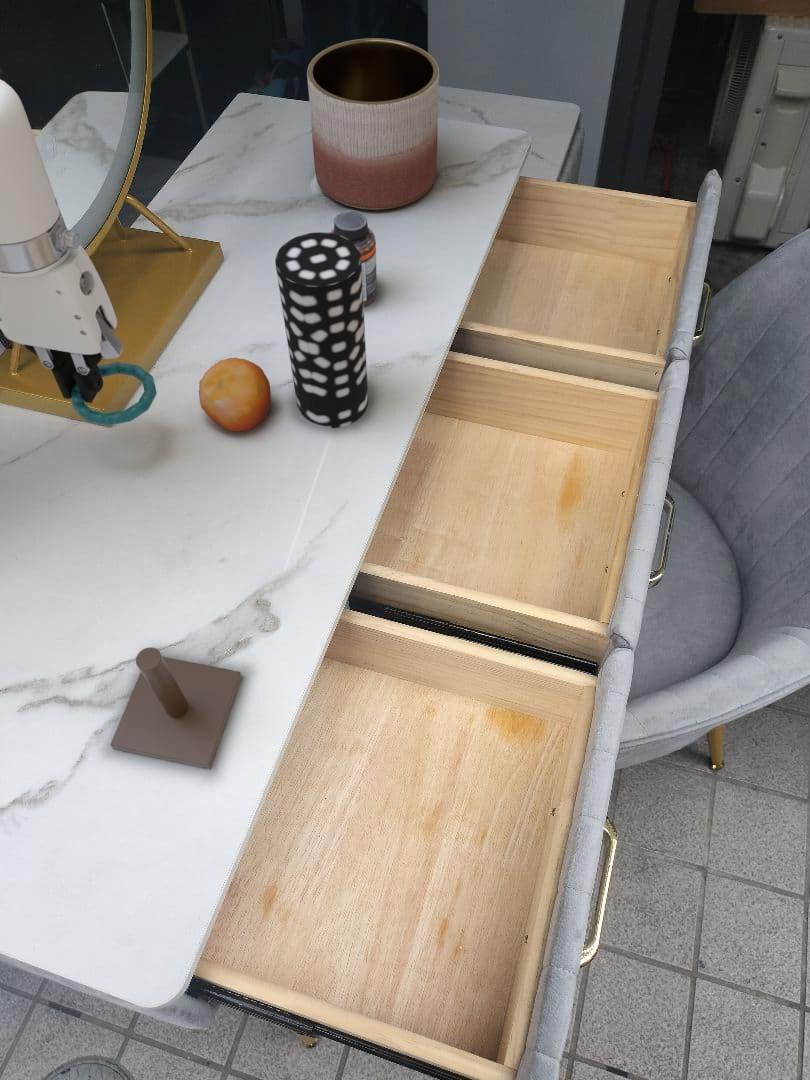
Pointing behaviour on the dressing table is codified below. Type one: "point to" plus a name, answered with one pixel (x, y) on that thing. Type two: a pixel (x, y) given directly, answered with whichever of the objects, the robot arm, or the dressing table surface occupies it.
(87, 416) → the bangle
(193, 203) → the dressing table surface
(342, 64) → the planter
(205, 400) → the fruit
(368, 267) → the supplement bottle
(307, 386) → the spotted tube
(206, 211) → the dressing table surface
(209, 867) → the dressing table surface
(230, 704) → the jewel stand
